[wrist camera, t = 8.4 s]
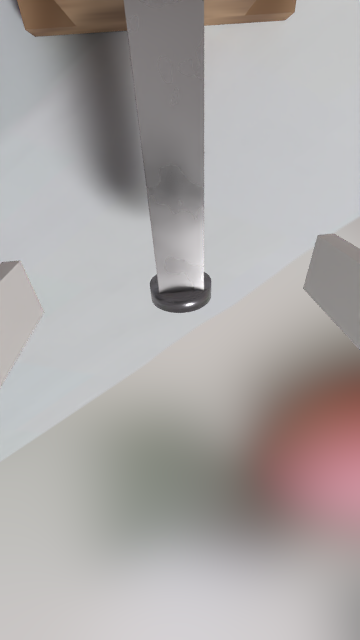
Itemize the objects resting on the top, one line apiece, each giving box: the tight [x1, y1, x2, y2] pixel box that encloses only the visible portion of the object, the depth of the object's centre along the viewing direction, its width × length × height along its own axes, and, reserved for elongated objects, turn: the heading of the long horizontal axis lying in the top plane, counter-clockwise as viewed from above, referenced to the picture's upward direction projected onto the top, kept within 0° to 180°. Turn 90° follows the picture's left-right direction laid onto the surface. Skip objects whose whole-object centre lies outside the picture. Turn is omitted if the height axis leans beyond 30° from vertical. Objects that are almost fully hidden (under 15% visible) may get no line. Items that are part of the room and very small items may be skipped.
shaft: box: [124, 0, 211, 313], centre depth 13 cm, size 4×21×4 cm, turn 3°
